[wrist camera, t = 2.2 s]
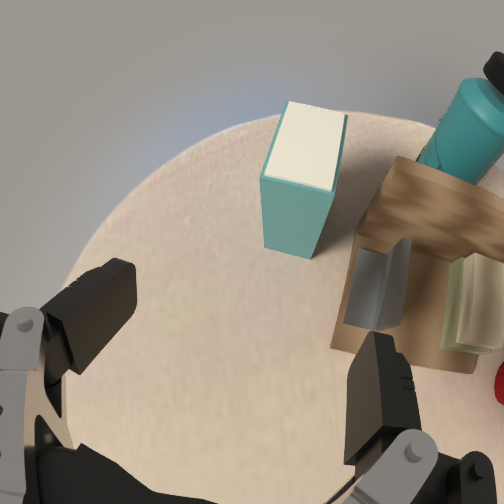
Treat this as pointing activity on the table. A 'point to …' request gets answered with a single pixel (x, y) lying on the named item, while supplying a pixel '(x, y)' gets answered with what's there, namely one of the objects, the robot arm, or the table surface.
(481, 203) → the shelf
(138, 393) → the table surface
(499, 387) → the plastic cup
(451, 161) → the beverage bottle
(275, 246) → the teal book
